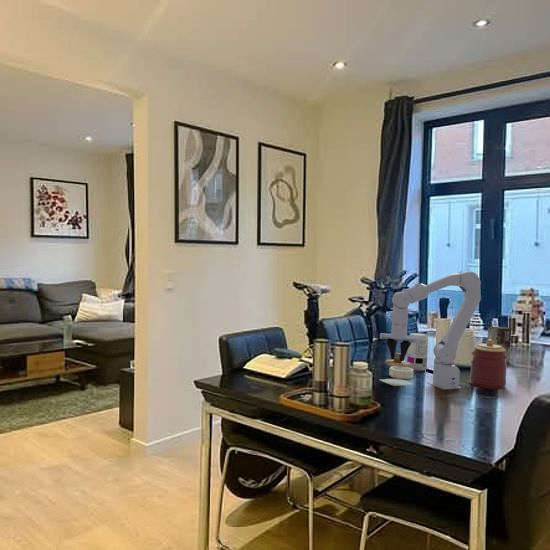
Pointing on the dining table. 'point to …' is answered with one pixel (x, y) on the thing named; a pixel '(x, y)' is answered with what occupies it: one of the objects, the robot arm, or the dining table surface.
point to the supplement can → (418, 352)
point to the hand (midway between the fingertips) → (397, 359)
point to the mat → (396, 382)
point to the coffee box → (501, 338)
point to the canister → (488, 366)
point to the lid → (397, 361)
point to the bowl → (401, 372)
